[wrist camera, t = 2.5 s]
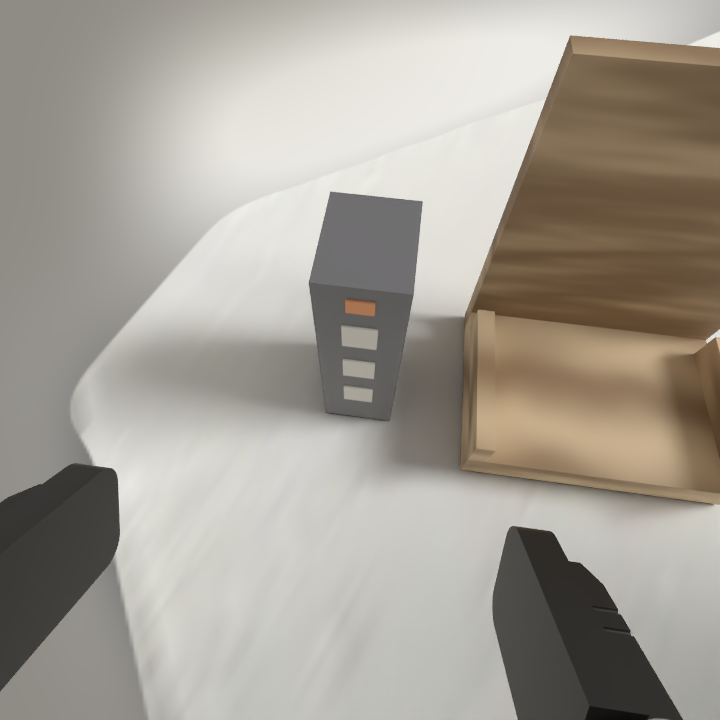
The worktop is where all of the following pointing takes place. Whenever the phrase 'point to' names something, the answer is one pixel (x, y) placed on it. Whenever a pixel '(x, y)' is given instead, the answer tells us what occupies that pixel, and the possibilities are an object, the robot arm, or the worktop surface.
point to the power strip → (363, 299)
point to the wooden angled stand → (606, 283)
